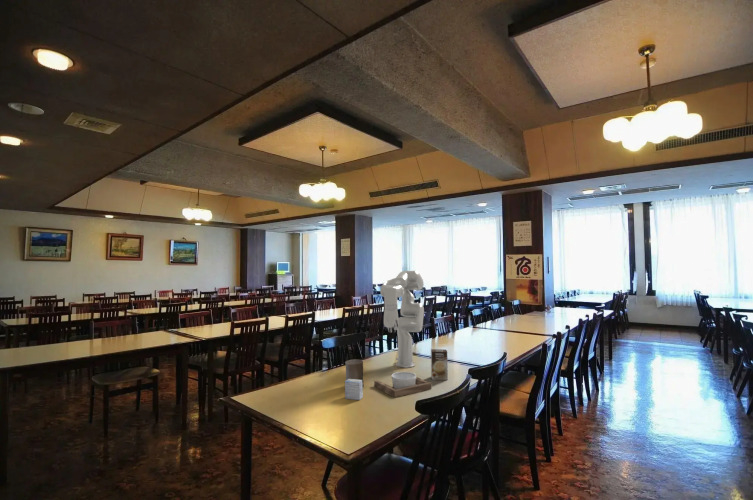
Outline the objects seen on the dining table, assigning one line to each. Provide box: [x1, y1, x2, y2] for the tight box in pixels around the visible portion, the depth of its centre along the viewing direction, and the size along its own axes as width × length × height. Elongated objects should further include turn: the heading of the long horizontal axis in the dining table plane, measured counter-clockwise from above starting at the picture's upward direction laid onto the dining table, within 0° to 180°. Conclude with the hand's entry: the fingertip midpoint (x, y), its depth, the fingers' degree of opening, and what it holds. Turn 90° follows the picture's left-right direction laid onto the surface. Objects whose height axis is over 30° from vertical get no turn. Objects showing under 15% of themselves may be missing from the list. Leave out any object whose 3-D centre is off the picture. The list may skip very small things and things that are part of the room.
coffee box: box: [430, 348, 449, 381], centre depth 207 cm, size 9×6×16 cm
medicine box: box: [344, 379, 364, 401], centre depth 177 cm, size 8×4×9 cm, turn 71°
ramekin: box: [391, 371, 417, 389], centre depth 191 cm, size 13×13×7 cm
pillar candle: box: [344, 358, 365, 388], centre depth 194 cm, size 10×10×15 cm
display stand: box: [373, 376, 432, 398], centre depth 192 cm, size 20×23×3 cm
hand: (392, 338), depth 209 cm, fingers closed
